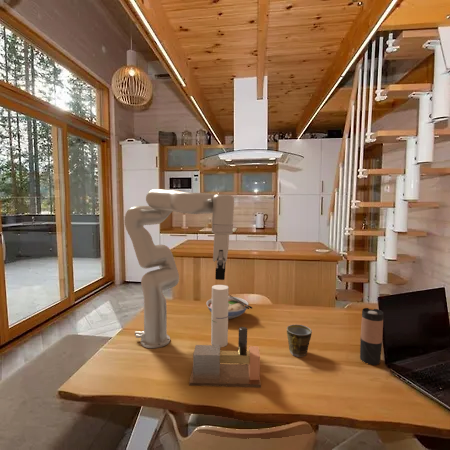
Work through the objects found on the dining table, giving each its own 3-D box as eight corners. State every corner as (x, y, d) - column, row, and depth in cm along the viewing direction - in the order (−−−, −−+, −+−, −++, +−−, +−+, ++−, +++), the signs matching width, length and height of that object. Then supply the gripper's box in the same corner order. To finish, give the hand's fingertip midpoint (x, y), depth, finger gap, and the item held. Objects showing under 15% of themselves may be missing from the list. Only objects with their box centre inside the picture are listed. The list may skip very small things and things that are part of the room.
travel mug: (372, 367, 113) (375, 316, 111) (355, 357, 120) (357, 309, 118) (385, 362, 116) (388, 313, 115) (367, 353, 123) (370, 306, 121)
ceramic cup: (290, 344, 130) (291, 322, 129) (313, 351, 125) (314, 327, 124) (279, 358, 118) (280, 334, 118) (305, 365, 113) (306, 340, 113)
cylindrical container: (225, 348, 126) (226, 290, 124) (209, 346, 127) (210, 288, 125) (228, 340, 133) (229, 285, 131) (213, 338, 134) (214, 284, 132)
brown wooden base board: (189, 385, 100) (189, 358, 100) (193, 365, 112) (193, 341, 112) (260, 387, 100) (261, 360, 99) (257, 367, 112) (258, 343, 111)
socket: (249, 379, 102) (250, 356, 102) (248, 368, 109) (249, 346, 109) (259, 380, 102) (260, 356, 102) (257, 368, 109) (258, 346, 109)
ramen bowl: (199, 311, 166) (199, 297, 166) (235, 305, 176) (235, 292, 175) (216, 329, 144) (217, 313, 143) (257, 321, 153) (258, 306, 153)
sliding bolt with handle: (211, 363, 104) (211, 329, 103) (212, 358, 107) (212, 326, 106) (255, 364, 104) (256, 330, 103) (255, 359, 107) (256, 327, 106)
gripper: (213, 226, 116) (211, 269, 117) (210, 231, 98) (208, 282, 100) (232, 226, 115) (230, 270, 117) (232, 232, 98) (230, 283, 100)
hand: (220, 275), depth 109 cm, fingers open, 9 cm apart
